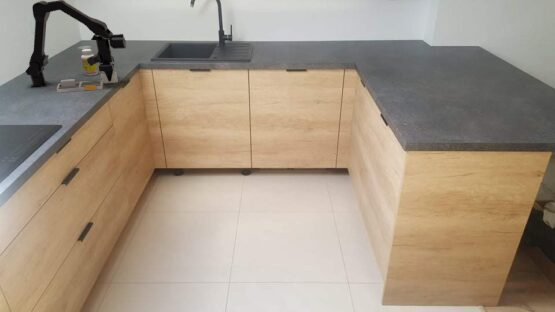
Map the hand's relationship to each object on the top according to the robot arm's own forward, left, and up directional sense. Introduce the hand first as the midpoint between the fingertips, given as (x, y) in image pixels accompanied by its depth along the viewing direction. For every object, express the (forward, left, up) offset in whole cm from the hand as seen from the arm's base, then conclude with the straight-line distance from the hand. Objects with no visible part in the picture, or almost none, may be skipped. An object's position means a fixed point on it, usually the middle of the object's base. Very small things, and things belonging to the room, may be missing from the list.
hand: (109, 80), depth 204 cm
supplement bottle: (-17, -10, -1) cm, 20 cm away
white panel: (0, 0, -1) cm, 1 cm away
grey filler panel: (+6, -18, -1) cm, 19 cm away
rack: (+6, -13, -1) cm, 14 cm away
